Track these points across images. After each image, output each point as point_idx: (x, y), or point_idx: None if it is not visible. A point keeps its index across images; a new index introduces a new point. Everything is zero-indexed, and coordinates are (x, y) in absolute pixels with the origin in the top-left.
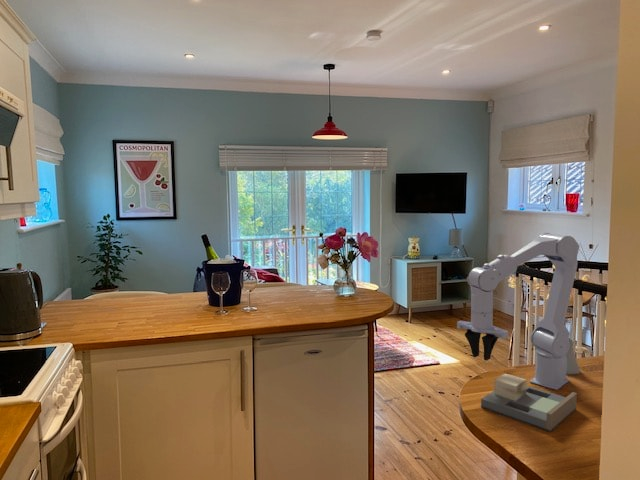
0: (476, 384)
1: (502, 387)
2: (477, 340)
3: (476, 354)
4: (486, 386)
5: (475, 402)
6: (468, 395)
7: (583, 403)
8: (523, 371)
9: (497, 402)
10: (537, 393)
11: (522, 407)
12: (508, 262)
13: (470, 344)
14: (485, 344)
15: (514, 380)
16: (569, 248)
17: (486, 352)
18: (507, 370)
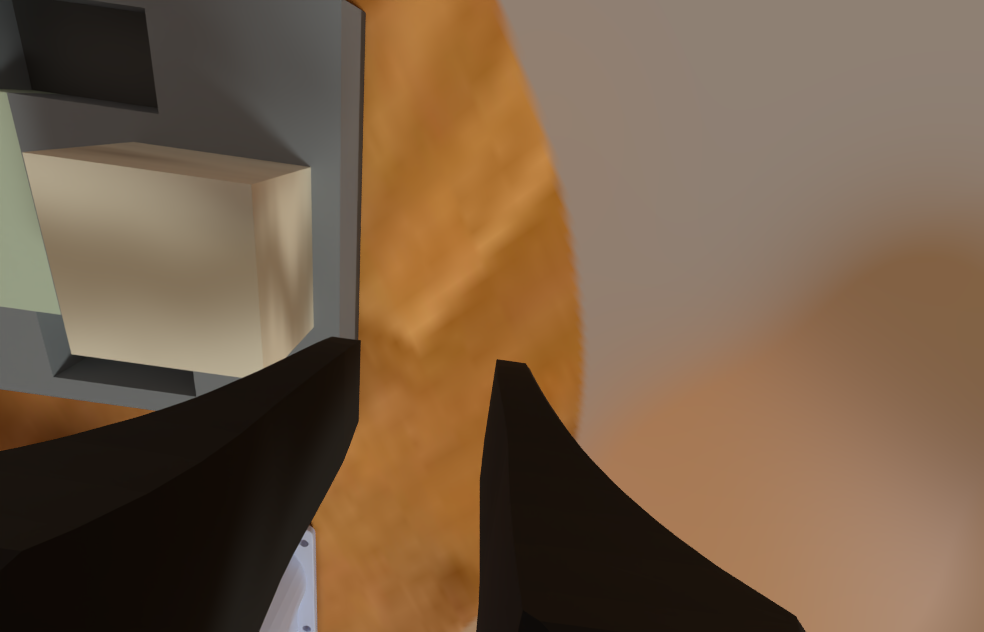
0: (545, 360)
1: (195, 165)
2: (482, 630)
3: (489, 408)
4: (481, 365)
5: (437, 79)
6: (526, 165)
7: (6, 436)
8: (400, 619)
9: (205, 12)
10: (153, 378)
11: (74, 99)
12: None
13: (573, 463)
14: (132, 452)
15: (117, 279)
16: None
17: (250, 375)
18: (470, 599)
